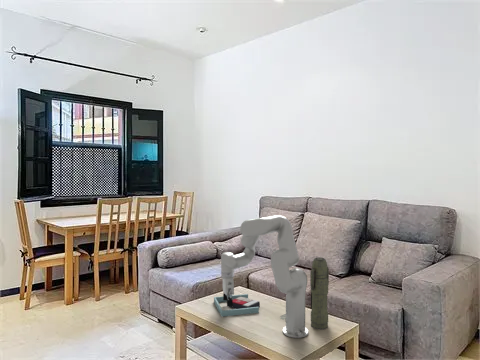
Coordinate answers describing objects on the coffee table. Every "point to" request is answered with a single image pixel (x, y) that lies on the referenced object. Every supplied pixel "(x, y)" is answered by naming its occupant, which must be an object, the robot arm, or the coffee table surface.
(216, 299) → the teal u-shaped piece
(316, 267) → the thermos
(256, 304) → the calculator
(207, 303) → the coffee table surface
